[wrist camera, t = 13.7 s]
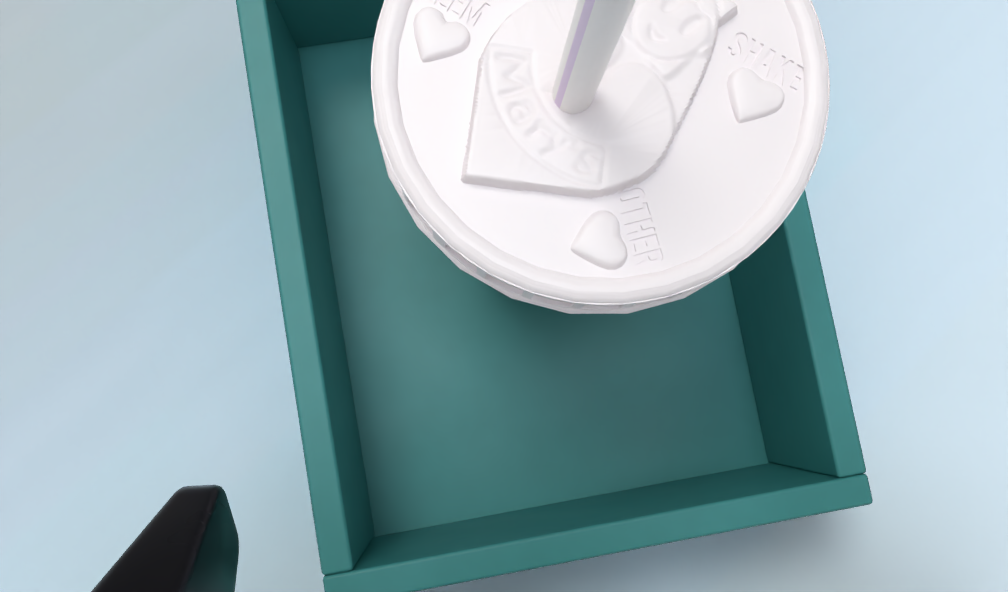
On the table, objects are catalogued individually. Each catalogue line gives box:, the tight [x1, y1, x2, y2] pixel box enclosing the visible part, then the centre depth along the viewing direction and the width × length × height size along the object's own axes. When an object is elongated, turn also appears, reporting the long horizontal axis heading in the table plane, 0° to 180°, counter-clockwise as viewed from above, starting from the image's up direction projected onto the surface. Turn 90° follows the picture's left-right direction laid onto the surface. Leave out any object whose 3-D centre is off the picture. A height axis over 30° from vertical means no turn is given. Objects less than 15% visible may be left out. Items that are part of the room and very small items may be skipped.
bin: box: [236, 0, 872, 592], centre depth 19 cm, size 13×11×4 cm
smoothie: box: [371, 0, 830, 314], centre depth 14 cm, size 6×6×14 cm
